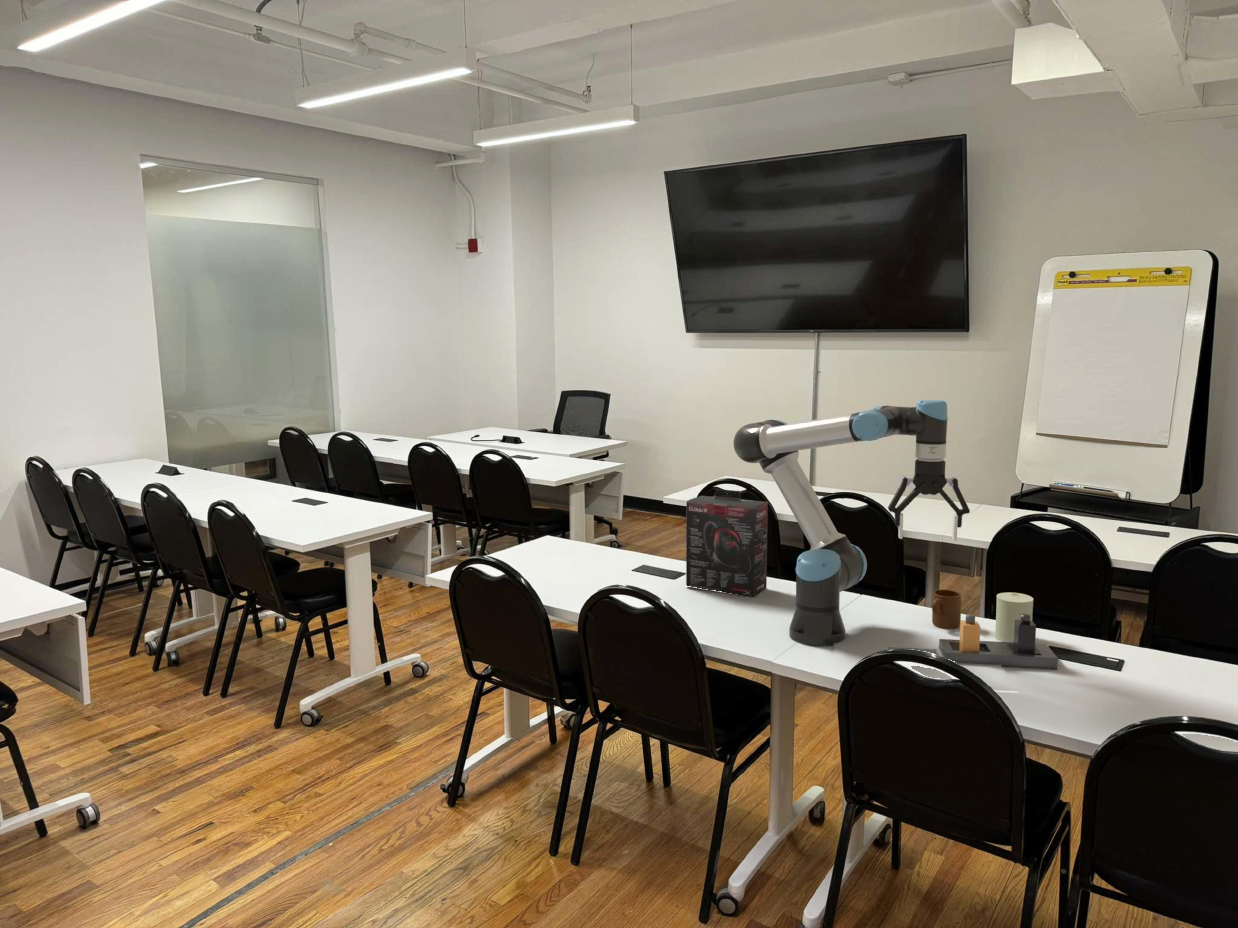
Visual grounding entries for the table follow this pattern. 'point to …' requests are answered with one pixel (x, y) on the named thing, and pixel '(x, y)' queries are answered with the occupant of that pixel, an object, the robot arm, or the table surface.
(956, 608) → the mug
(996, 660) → the grey fixture base
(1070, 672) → the table surface
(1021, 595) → the can
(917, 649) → the parts mat
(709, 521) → the headset box
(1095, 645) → the table surface
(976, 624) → the orange bottle
